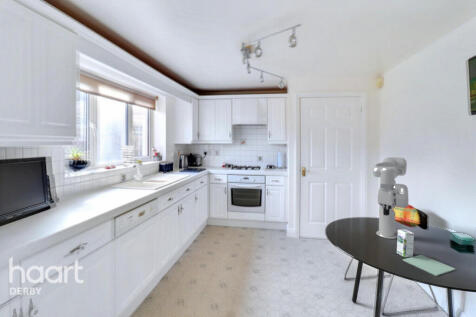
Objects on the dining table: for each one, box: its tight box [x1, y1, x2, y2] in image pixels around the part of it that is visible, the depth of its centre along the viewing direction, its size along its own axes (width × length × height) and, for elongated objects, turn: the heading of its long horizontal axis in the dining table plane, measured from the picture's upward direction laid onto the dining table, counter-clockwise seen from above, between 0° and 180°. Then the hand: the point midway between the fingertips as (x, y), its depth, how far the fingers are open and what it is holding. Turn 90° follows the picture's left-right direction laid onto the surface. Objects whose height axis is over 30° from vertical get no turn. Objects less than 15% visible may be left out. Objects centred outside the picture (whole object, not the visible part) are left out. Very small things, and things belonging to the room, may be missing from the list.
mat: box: [402, 254, 456, 277], centre depth 119 cm, size 16×16×1 cm
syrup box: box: [396, 229, 415, 258], centre depth 130 cm, size 6×6×14 cm
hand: (386, 214), depth 140 cm, fingers closed
